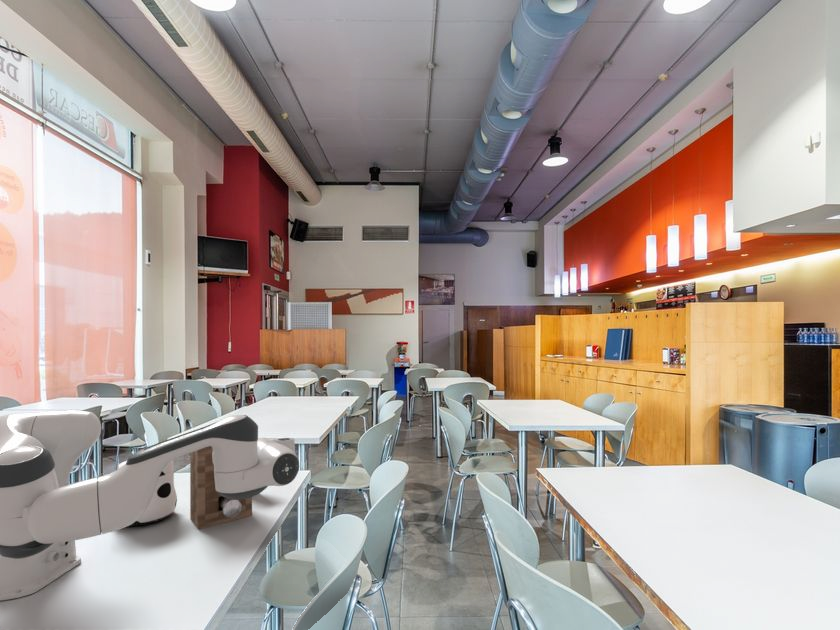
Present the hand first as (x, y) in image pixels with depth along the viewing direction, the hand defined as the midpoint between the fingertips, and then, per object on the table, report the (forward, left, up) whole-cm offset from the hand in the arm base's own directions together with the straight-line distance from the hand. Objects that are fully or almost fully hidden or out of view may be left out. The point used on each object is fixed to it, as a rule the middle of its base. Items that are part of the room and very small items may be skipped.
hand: (245, 446), depth 129 cm
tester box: (+21, +12, -27) cm, 36 cm away
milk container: (+25, +35, -27) cm, 51 cm away
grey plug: (+14, +8, -23) cm, 28 cm away
